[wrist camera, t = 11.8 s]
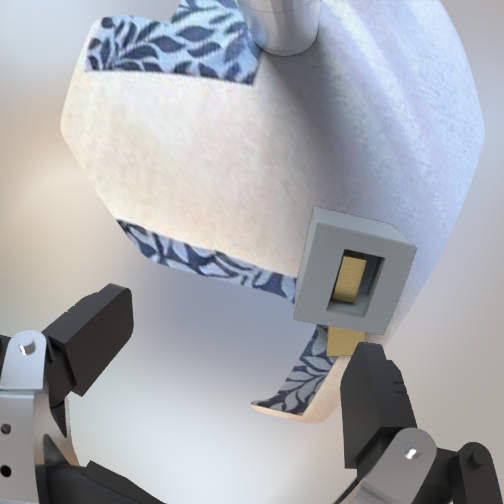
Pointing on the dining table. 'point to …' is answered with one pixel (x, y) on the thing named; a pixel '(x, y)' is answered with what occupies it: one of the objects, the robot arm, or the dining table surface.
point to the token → (342, 341)
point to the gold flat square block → (349, 276)
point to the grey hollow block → (373, 279)
